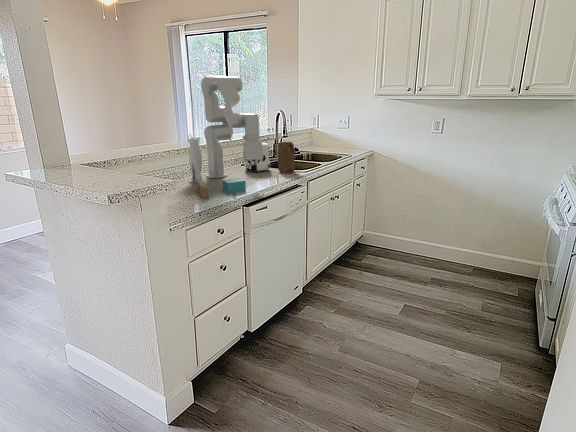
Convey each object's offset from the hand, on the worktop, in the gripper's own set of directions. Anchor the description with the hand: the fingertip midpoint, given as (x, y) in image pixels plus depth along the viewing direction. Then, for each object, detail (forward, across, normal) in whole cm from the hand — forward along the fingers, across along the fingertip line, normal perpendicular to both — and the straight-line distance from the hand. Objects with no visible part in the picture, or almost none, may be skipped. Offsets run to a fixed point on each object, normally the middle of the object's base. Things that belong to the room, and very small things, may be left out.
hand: (254, 172), depth 206 cm
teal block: (+10, -11, +1) cm, 15 cm away
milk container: (+9, +16, +48) cm, 52 cm away
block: (+9, +33, +37) cm, 50 cm away
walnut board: (+9, -28, +1) cm, 30 cm away
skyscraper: (+9, -27, +29) cm, 41 cm away
